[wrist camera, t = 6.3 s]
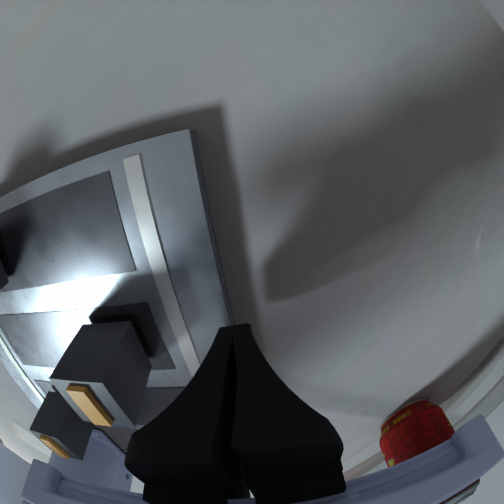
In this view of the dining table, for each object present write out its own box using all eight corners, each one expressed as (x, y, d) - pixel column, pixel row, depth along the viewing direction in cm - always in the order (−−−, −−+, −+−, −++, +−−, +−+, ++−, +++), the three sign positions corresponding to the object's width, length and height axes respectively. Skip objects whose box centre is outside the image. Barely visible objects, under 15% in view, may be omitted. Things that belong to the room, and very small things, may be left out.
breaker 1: (96, 419, 15) (81, 464, 11) (68, 415, 15) (52, 455, 11) (75, 395, 14) (55, 441, 10) (48, 391, 14) (27, 432, 10)
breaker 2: (152, 365, 13) (134, 432, 9) (105, 366, 13) (81, 425, 9) (130, 320, 12) (99, 388, 8) (82, 324, 12) (46, 383, 8)
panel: (255, 409, 18) (257, 427, 16) (48, 403, 18) (42, 415, 16) (194, 130, 11) (188, 128, 9) (-45, 226, 11) (-59, 233, 9)
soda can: (359, 435, 21) (393, 536, 10) (412, 389, 19) (468, 497, 7) (398, 435, 23) (432, 517, 11) (444, 396, 20) (492, 479, 9)
